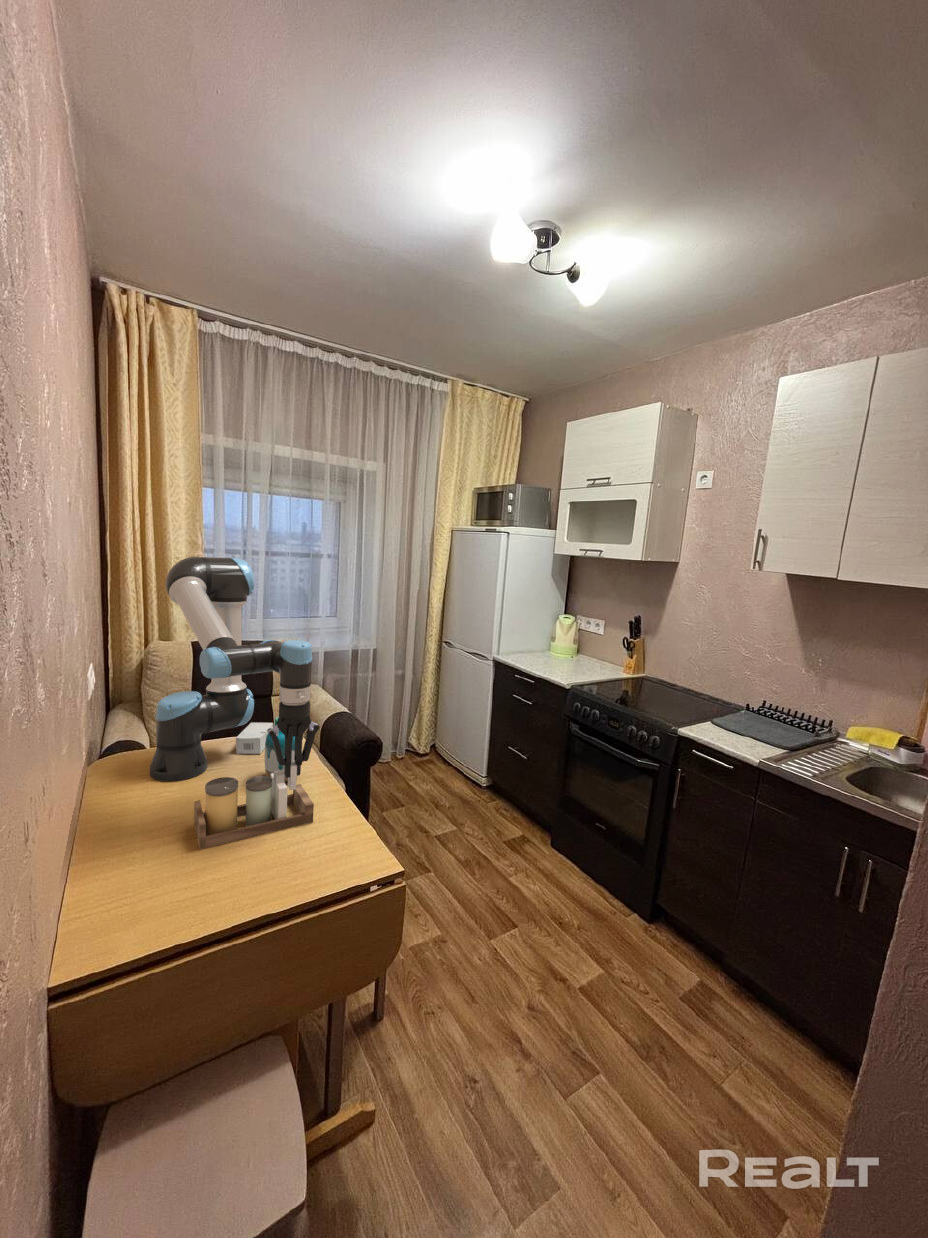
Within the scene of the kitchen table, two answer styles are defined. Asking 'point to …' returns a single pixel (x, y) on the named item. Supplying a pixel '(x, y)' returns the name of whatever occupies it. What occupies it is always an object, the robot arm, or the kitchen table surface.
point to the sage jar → (258, 800)
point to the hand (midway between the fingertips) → (291, 787)
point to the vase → (270, 755)
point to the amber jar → (221, 805)
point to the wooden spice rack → (297, 798)
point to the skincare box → (252, 738)
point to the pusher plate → (279, 795)
